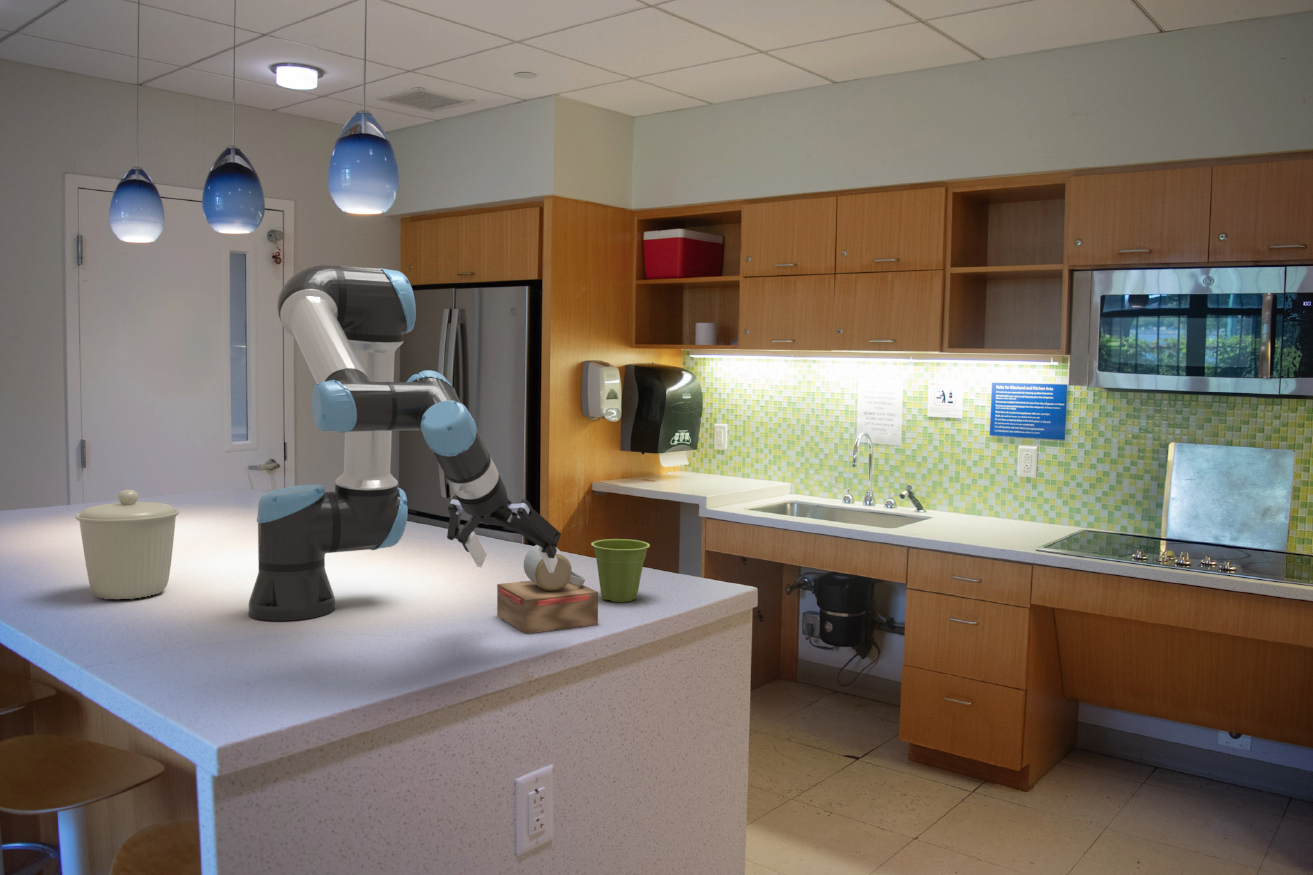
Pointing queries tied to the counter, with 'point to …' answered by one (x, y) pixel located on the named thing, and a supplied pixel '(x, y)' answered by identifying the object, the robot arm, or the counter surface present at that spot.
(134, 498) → the canister
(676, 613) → the counter surface
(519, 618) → the wooden box
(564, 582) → the ceramic mug
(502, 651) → the counter surface
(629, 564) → the plant pot
